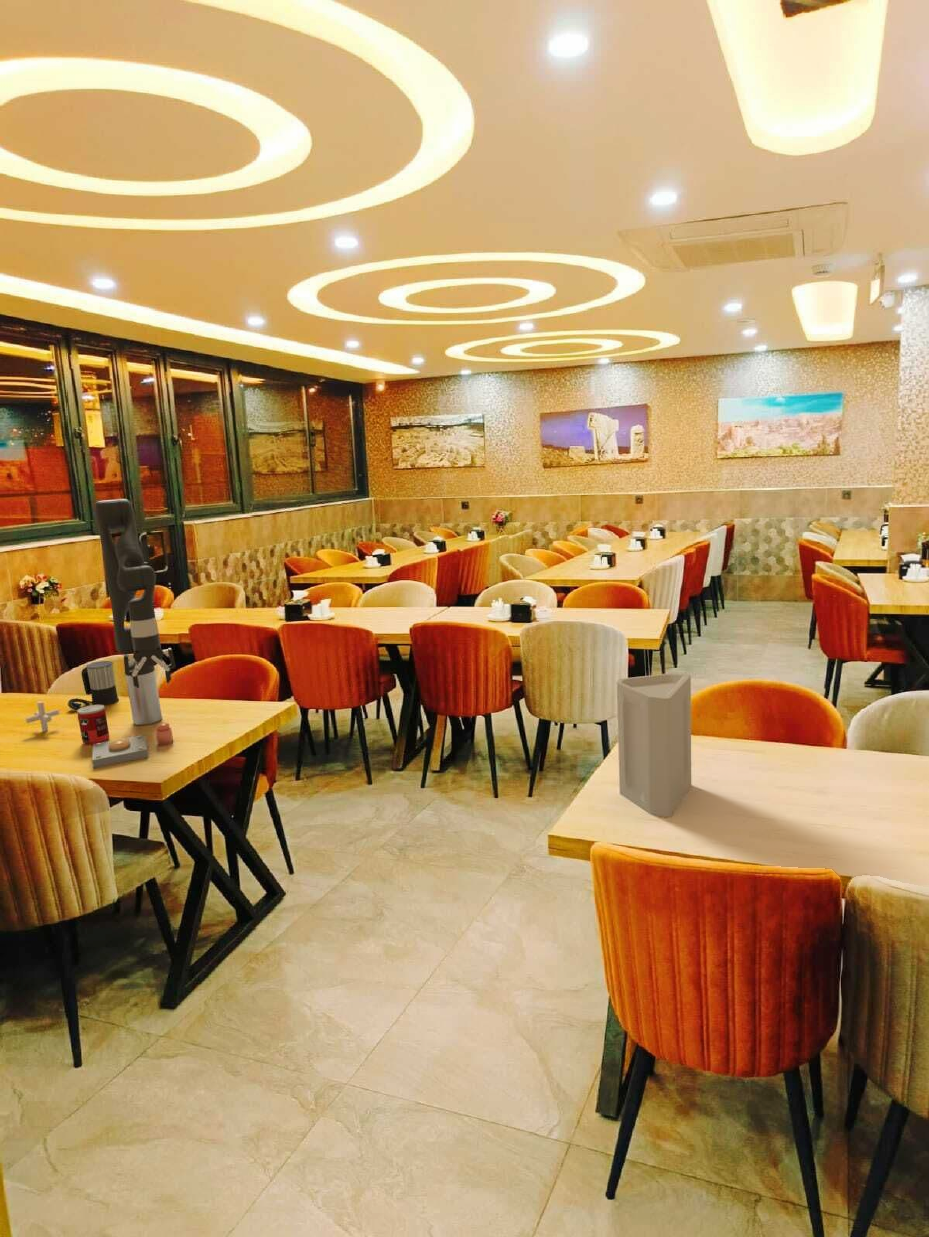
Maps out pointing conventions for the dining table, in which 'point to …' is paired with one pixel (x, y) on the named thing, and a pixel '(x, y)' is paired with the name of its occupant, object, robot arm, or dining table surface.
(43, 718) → the pipe connector
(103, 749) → the square plate with knob
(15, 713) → the dining table surface
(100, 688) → the milk frother
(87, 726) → the canned food
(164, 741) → the orange rounded knob
